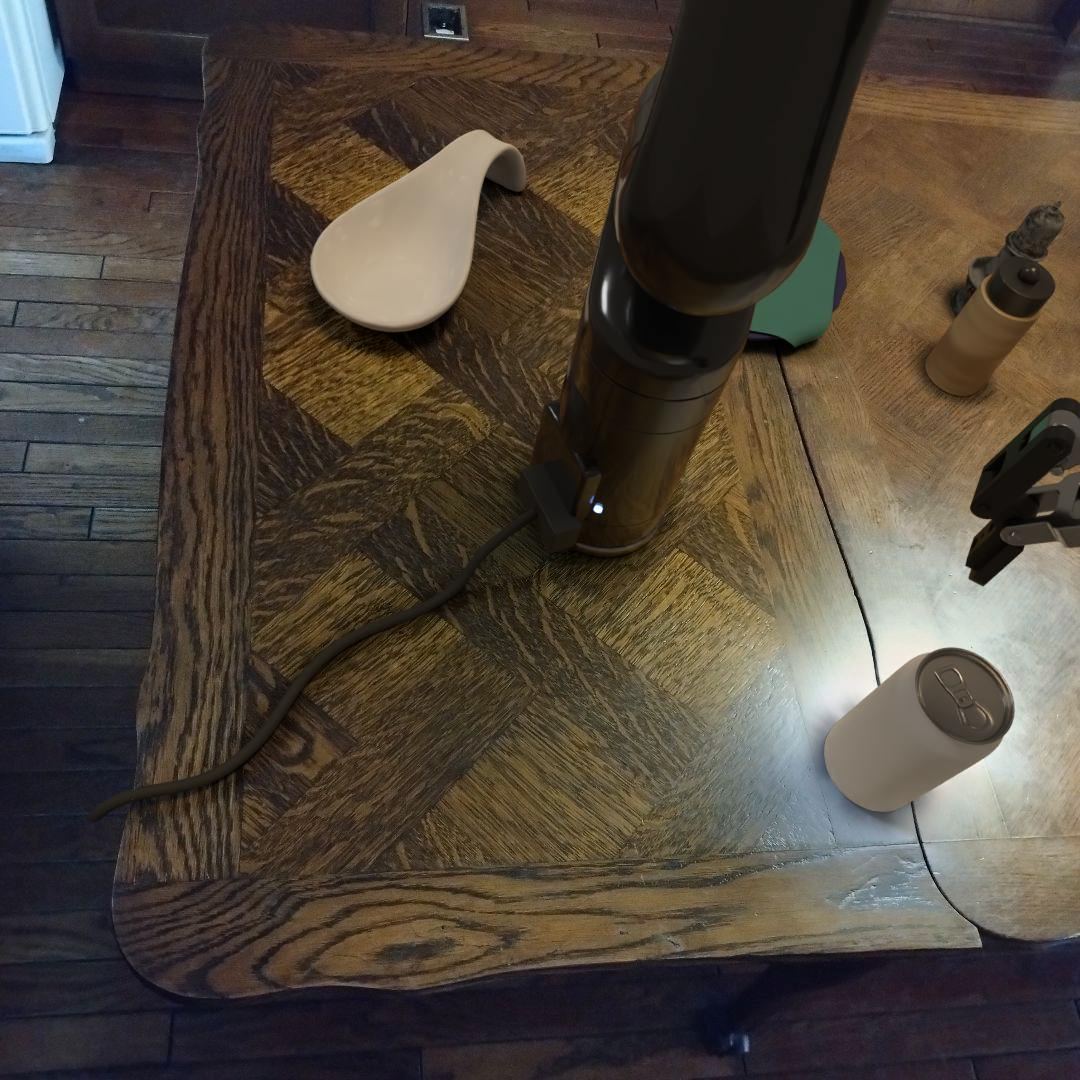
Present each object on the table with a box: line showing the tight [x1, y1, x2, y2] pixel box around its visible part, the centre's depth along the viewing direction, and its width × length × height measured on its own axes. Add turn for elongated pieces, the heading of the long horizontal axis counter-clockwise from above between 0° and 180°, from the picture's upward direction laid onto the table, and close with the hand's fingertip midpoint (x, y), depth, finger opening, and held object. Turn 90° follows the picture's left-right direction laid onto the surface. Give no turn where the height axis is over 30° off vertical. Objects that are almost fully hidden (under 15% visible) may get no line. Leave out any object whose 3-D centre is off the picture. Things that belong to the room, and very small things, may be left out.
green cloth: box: [747, 215, 848, 348], centre depth 87 cm, size 20×30×2 cm, turn 165°
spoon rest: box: [309, 129, 527, 333], centre depth 78 cm, size 24×12×7 cm, turn 152°
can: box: [823, 646, 1016, 813], centre depth 58 cm, size 6×6×12 cm
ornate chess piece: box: [950, 200, 1066, 317], centre depth 82 cm, size 6×6×12 cm
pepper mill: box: [924, 257, 1056, 397], centre depth 78 cm, size 5×5×12 cm
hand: (1062, 611), depth 47 cm, fingers open, 8 cm apart
